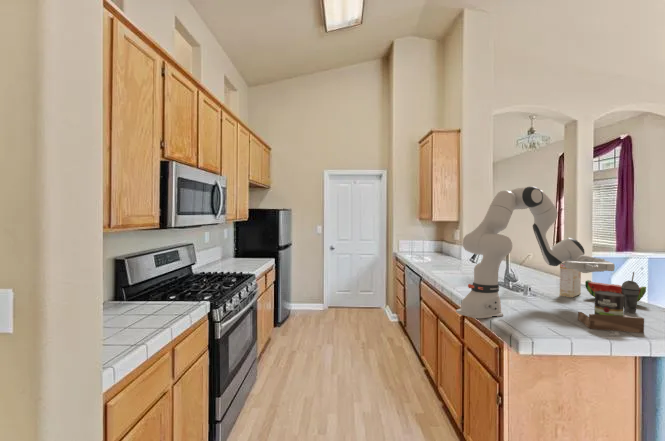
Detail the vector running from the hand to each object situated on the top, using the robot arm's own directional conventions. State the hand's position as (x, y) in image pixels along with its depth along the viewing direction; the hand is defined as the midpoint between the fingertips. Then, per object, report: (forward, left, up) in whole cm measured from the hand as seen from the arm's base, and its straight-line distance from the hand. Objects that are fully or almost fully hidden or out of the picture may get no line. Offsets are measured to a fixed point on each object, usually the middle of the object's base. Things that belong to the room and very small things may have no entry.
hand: (595, 267), depth 173 cm
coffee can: (-10, -10, -23) cm, 28 cm away
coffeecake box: (+38, +30, -23) cm, 53 cm away
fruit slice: (+42, +9, -23) cm, 49 cm away
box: (-10, -10, -23) cm, 27 cm away
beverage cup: (+24, -5, -23) cm, 34 cm away
